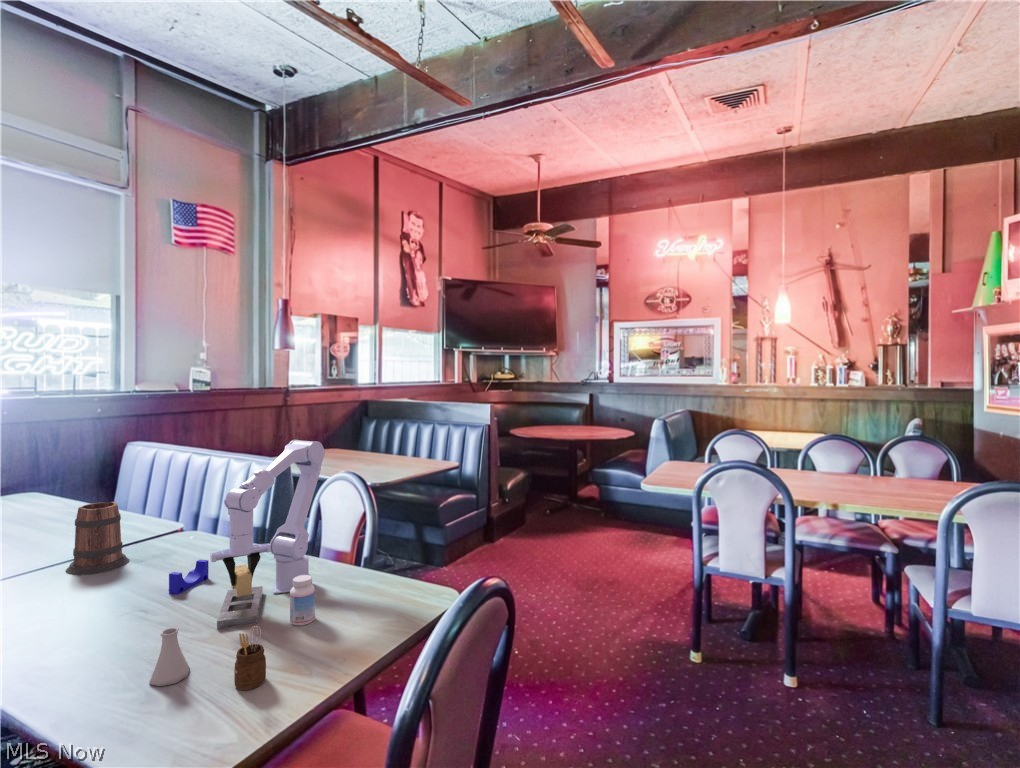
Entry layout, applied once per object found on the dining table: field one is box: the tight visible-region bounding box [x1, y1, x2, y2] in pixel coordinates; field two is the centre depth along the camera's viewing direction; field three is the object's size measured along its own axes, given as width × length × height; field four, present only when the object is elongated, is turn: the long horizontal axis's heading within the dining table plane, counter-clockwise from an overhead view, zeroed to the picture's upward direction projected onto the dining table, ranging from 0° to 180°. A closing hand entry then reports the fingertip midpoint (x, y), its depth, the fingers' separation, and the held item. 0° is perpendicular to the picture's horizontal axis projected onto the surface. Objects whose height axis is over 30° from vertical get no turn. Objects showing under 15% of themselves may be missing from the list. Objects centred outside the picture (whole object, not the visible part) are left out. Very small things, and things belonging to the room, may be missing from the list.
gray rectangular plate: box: [216, 585, 264, 630], centre depth 145 cm, size 9×20×2 cm, turn 21°
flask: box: [148, 626, 191, 687], centre depth 113 cm, size 7×7×10 cm
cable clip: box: [168, 559, 209, 595], centre depth 161 cm, size 12×4×6 cm, turn 170°
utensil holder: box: [233, 625, 267, 691], centre depth 111 cm, size 6×6×12 cm
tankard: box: [65, 501, 131, 576], centre depth 178 cm, size 24×17×20 cm
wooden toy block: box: [230, 564, 253, 597], centre depth 145 cm, size 4×8×6 cm, turn 37°
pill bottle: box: [289, 575, 316, 626], centre depth 139 cm, size 6×6×11 cm
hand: (241, 582), depth 145 cm, fingers closed on wooden toy block, 3 cm apart
